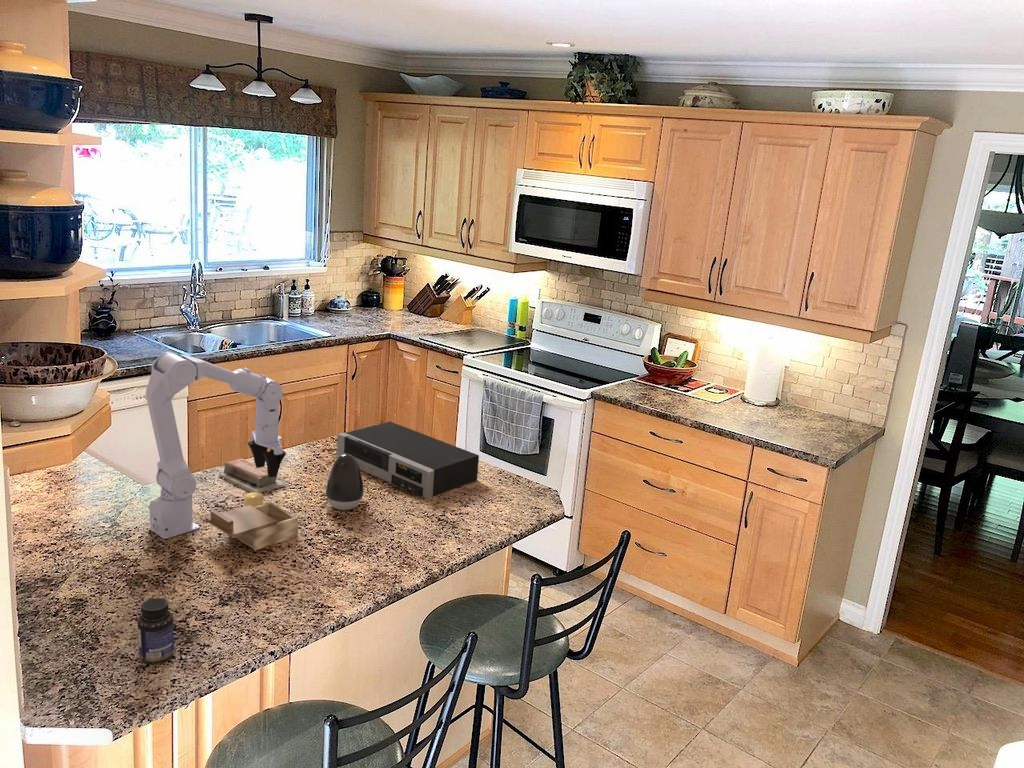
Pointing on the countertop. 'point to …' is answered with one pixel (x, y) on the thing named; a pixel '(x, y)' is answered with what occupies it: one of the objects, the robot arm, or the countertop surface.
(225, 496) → the countertop surface
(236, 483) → the packaged product
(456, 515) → the countertop surface
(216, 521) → the lid
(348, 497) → the black egg-shaped device
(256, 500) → the cream bullet-shaped knob
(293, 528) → the wooden box
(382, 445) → the vcr player
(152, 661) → the pill bottle
